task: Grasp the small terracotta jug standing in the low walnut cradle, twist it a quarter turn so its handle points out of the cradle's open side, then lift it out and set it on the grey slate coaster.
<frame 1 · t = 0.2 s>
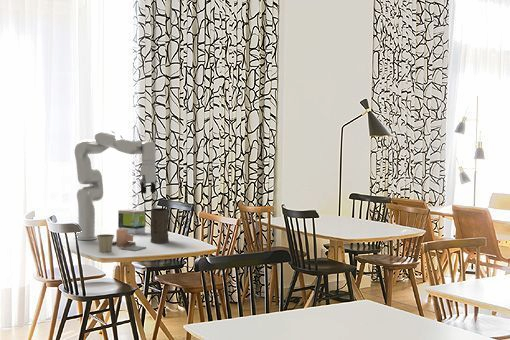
hand: (148, 192, 366), 30 cm above the table, tool pointing down, fingers open, 9 cm apart
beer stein: (160, 241, 381), on the table
jug: (124, 237, 365), in the cradle
tea box: (131, 232, 414), on the table
flower pot: (105, 251, 347), on the table
cradle: (122, 245, 366), on the table
coaster: (133, 248, 355), on the table
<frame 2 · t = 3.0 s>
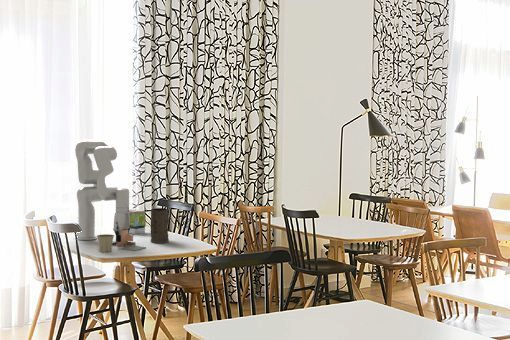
hand: (122, 240, 366), 3 cm above the table, tool pointing down, fingers closed on jug, 6 cm apart
jug: (124, 237, 365), in the cradle, touching gripper
everything else where it was.
when the fingers open (4 cm above the table, at t = 9.3 s): jug stays where it is, resting on coaster.
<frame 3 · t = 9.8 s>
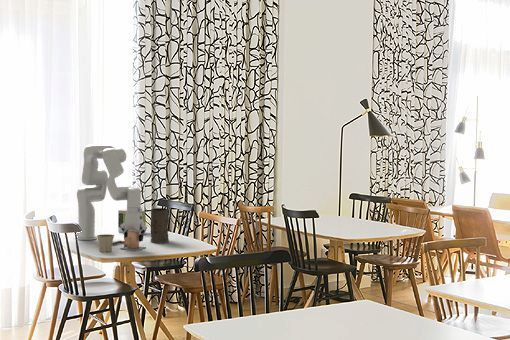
hand: (133, 240, 355), 5 cm above the table, tool pointing down, fingers open, 9 cm apart
jug: (131, 240, 354), on the coaster, point 5 cm above the table
everything else where it was.
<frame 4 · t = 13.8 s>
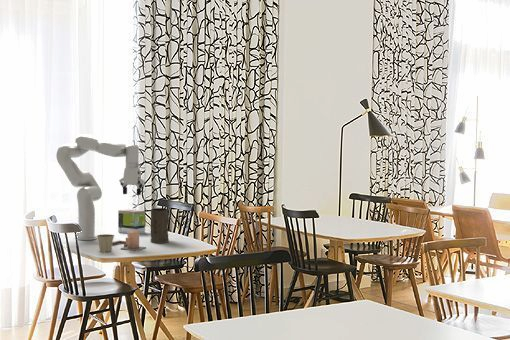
hand: (131, 194, 376), 28 cm above the table, tool pointing down, fingers open, 9 cm apart
nothing on the table moved.
at the end: jug inside the target area on the coaster (0.2 cm from its centre), point 5.2 cm above the coaster's base; jug tilted 2°; jug touching coaster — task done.
